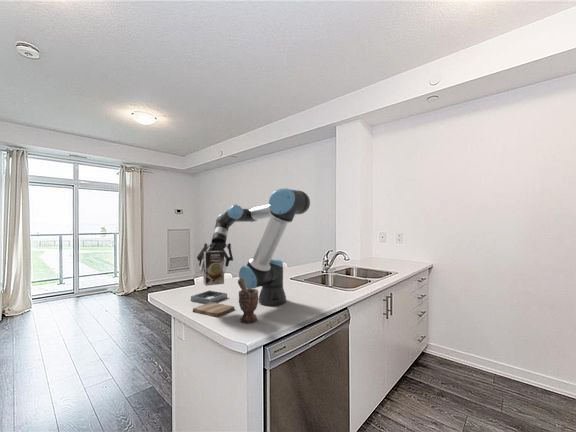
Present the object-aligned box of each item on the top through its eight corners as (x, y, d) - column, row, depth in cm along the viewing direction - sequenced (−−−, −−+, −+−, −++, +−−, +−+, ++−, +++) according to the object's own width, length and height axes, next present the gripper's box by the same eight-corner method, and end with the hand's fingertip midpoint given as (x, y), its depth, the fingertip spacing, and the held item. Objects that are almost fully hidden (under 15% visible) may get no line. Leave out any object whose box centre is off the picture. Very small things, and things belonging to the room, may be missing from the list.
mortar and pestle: (256, 327, 113) (256, 279, 113) (235, 327, 113) (235, 279, 113) (259, 317, 124) (259, 273, 124) (240, 317, 124) (240, 273, 124)
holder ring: (227, 297, 155) (227, 293, 155) (209, 304, 143) (209, 299, 143) (209, 294, 162) (209, 290, 162) (190, 300, 150) (190, 296, 150)
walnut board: (234, 309, 135) (234, 306, 135) (217, 317, 124) (217, 313, 124) (210, 304, 142) (210, 301, 143) (192, 311, 132) (192, 308, 132)
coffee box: (205, 286, 129) (205, 252, 129) (203, 283, 134) (203, 251, 135) (224, 284, 133) (224, 251, 133) (221, 281, 139) (221, 250, 139)
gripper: (241, 241, 150) (237, 275, 134) (199, 241, 149) (190, 276, 133) (240, 232, 144) (235, 266, 129) (196, 232, 144) (186, 267, 128)
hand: (212, 271), depth 131 cm, fingers closed on coffee box, 10 cm apart
